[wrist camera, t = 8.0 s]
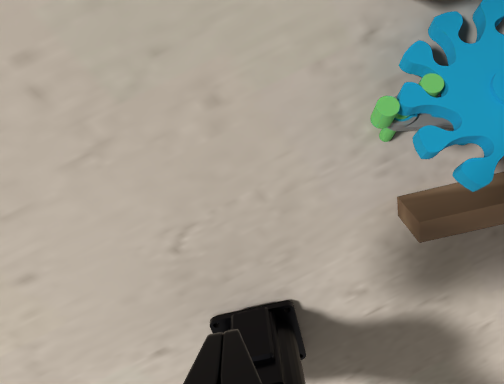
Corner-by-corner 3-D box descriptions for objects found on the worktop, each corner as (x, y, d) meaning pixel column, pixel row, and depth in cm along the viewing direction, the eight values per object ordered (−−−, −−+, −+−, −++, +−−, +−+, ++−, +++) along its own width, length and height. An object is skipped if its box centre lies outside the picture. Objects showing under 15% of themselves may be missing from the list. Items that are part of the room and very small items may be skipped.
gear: (618, -24, 16) (694, 186, 13) (533, 58, 22) (575, 218, 19) (368, -2, 17) (390, 196, 15) (349, 71, 23) (363, 223, 20)
